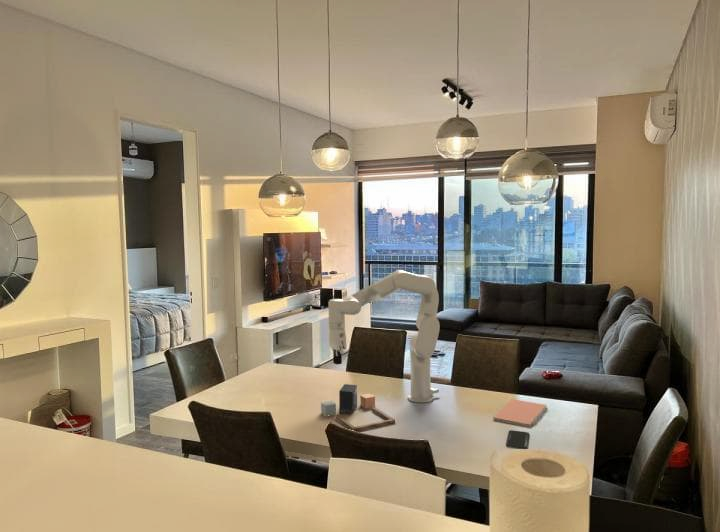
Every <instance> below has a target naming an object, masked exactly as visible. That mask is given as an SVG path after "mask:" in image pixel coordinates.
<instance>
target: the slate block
mask: <svg viewBox="0 0 720 532" xmlns="http://www.w3.org/2000/svg"><path fill="white" fill-rule="evenodd" d="M320 406H321V407H320V409H321V411H320V412H321V414H322V413H323V414H324V415H325V416H324V415H323V414H322V415H323V416H324V417H326V416H327V417H329V416H328V415H332V416H335V415H334V414H336V415H337V404H336V403H335V402H333V401H332V400H326V401H322V402H320Z"/></svg>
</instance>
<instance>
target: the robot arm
mask: <svg viewBox="0 0 720 532" xmlns="http://www.w3.org/2000/svg"><path fill="white" fill-rule="evenodd" d="M399 290H402V291H405V292H410V293H412V294H413V293H414V294H418V295H420V303H419V309H418V313H417V317H416V321H415V325H416V328H417V329H418V330H417V331H418V333H416V334H414V335H412V336H411V338H410V339H409V357H410V394H408V395H407V399H408V401H410V402H413V403H417V404H418V403H419V404H423V403H430V402H432V401H434V399H435V398H434V397H435V396H434V394H437V393H439V392H440V389H439V388H433V387H432V388H431V384H432V383H431V356H432V355H434V353H435V350H436V346H437V343H438V338H439V335H440V334H439V333H440V328H441V327H440V321H439V319H438V318H437V314H438V309H439V308H438V307H439V302H440V298H439V297H440V296H439V291H438V289H437V287H436V282H435V280H434V279H433V278H432V277H429V276H427V275H425V274H420V275H419V274H414V273H411V272H408V271H405V270H403V269H397V270H396V271H393V272H391V273H390V274H388V275H386V276H384V277H383V278H381V279H380V280H377V281H376V282H374V283H372V284H370V285H368V286H365V287H364V288H362V289H360V290H358V291H357V292H355V293H353V294H351V295H350V296H348V297H346V299H345V300H344V299H342V298H332V299H329V300H328V303H327V304H328V305H327V307H328V329H329V334H328V335H329V336H328V337H329V339H328V340H329V341H328V343H329V345H328V346H329V347H330V349H331V350H332V355H333V358H332V359H333V361H332V362H333V364H335V365H342V363H343V357H342V356H343V354H344V353H345V352H344V350H347V348H348V347H347V335H346V322H345V318H346V317H345V315H347V316H356V315H358V314H359V313H360V312H361V310H362V307H364V306H365V305H368V304H370V303H373V302H375V301H381V300H384V299H387V297H389V296H390V295H392V294H394V293H396V292H397V291H399Z"/></svg>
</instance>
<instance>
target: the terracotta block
mask: <svg viewBox="0 0 720 532" xmlns="http://www.w3.org/2000/svg"><path fill="white" fill-rule="evenodd" d="M359 396H360V397H359V398H360V406H361V407H362V406H363V408H364V409H365V408H367V409H371V408H370V407H372V408H376V396H375V395H373V394H371V393H366V394H365V393H364V394H360V395H359Z"/></svg>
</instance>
